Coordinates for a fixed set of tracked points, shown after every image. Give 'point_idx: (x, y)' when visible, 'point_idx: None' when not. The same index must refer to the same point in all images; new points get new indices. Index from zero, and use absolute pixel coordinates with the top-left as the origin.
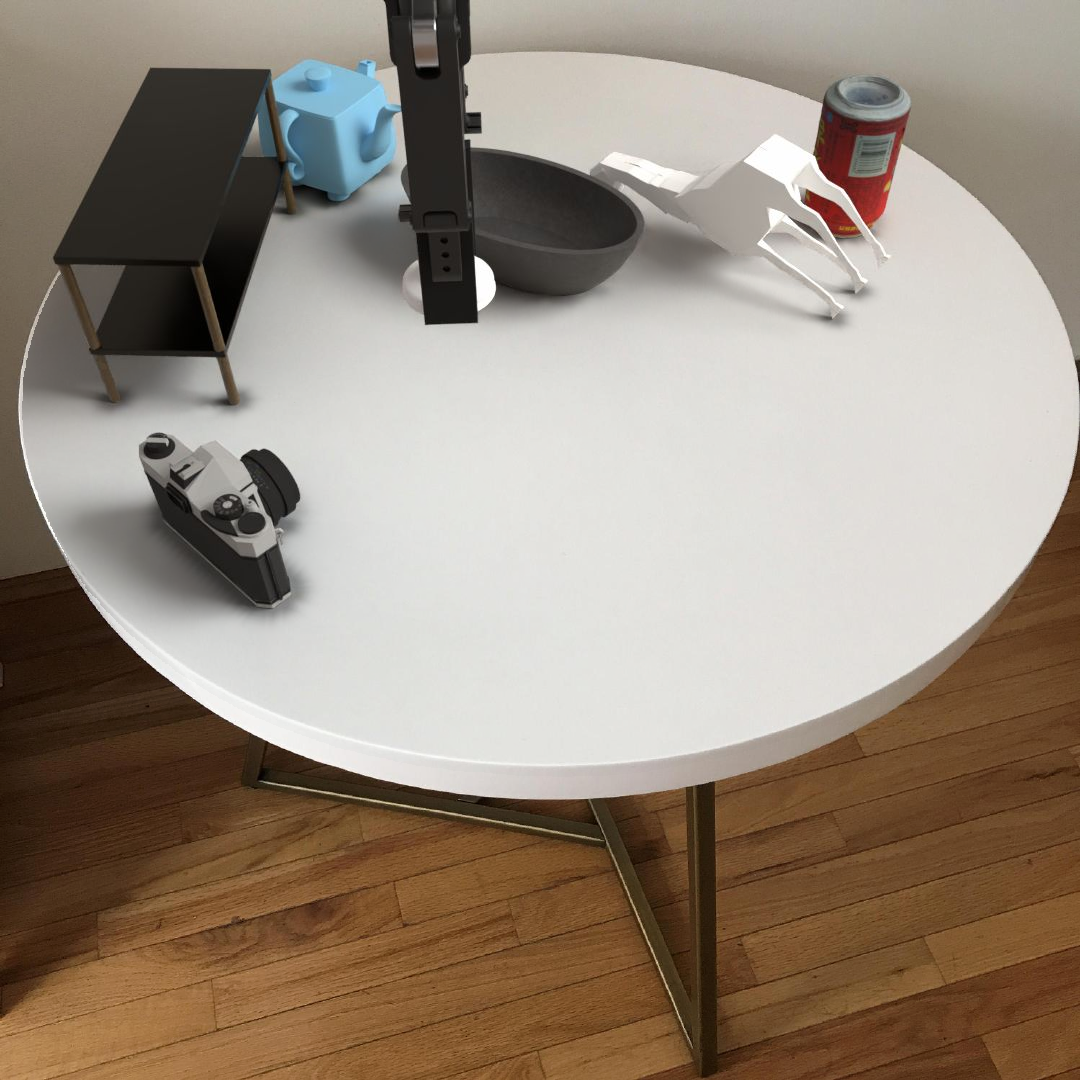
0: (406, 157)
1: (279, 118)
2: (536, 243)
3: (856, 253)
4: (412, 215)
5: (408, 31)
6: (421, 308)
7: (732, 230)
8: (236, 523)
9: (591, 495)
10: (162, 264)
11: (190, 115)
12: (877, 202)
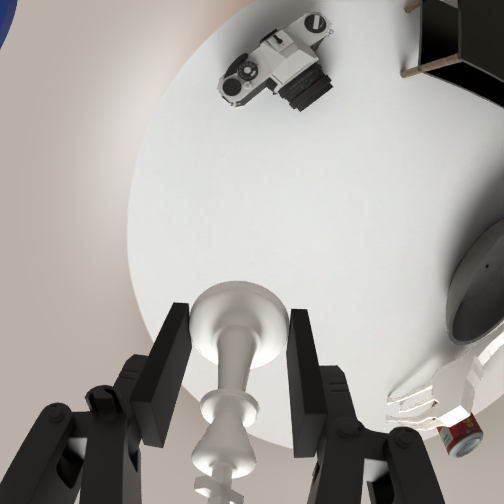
0: (1, 483)
1: None
2: (485, 274)
3: (422, 406)
4: (36, 422)
5: None
6: (198, 301)
7: (444, 376)
8: (233, 77)
9: (294, 282)
10: (459, 33)
11: None
12: None
